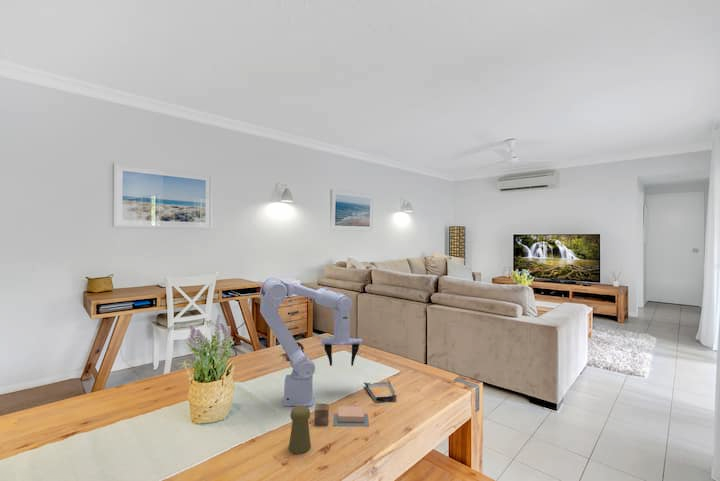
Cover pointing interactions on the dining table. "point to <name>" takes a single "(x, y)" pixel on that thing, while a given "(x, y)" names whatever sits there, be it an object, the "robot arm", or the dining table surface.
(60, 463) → the dining table surface
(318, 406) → the walnut block
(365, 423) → the felt mat
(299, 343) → the pottery mug
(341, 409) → the glazed tile
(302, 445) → the olive green pepper mill
